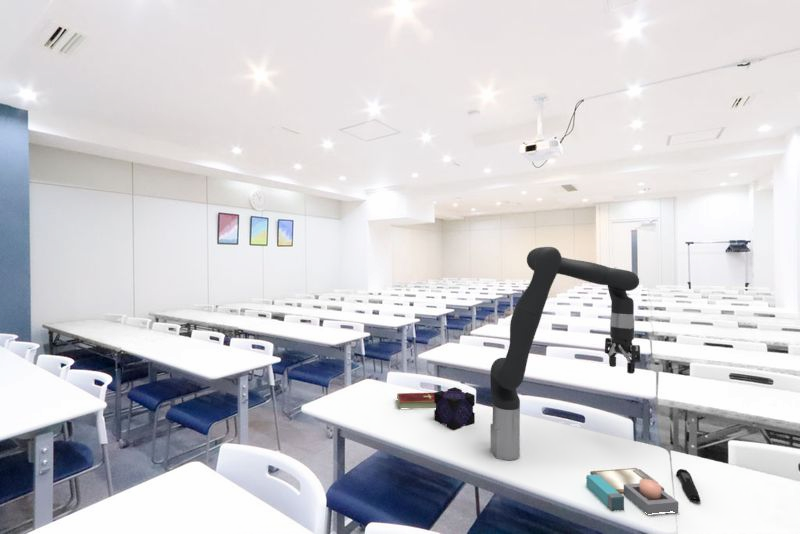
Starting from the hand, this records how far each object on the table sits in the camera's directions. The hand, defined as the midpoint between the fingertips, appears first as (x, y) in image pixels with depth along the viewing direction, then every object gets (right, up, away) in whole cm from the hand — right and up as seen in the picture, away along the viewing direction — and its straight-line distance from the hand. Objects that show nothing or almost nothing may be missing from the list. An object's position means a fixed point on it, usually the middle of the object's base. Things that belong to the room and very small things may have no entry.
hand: (621, 369), depth 136 cm
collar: (-11, -29, -32) cm, 44 cm away
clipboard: (-11, -29, -21) cm, 37 cm away
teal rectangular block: (-22, -29, -29) cm, 47 cm away
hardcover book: (-71, -29, +41) cm, 87 cm away
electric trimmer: (+6, -29, -25) cm, 39 cm away
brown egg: (-11, -26, -32) cm, 43 cm away
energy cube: (-58, -28, +22) cm, 68 cm away
